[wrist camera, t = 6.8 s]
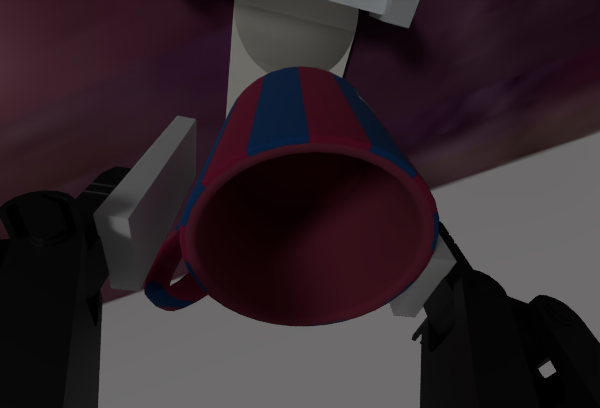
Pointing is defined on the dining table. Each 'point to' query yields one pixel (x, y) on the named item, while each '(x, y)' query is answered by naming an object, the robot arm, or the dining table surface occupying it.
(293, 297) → the cup
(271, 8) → the pad
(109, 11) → the dining table surface
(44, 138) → the dining table surface
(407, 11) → the divider wall
